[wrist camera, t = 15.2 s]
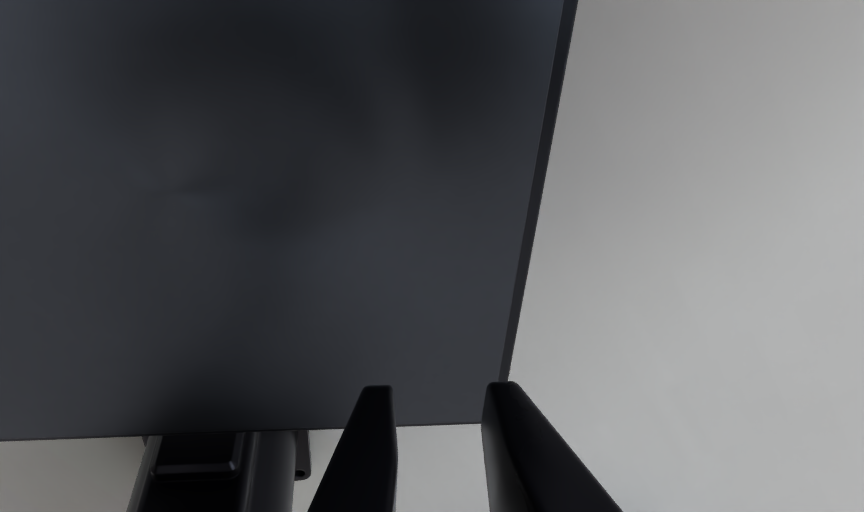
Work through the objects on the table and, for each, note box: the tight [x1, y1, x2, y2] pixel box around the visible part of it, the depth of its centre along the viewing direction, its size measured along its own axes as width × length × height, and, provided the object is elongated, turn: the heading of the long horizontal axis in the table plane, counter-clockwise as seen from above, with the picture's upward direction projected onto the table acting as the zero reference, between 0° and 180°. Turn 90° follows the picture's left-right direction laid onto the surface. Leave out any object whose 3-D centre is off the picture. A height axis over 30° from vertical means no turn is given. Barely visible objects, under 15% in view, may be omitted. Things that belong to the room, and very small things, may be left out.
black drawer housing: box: [0, 0, 578, 442], centre depth 15 cm, size 14×14×8 cm
